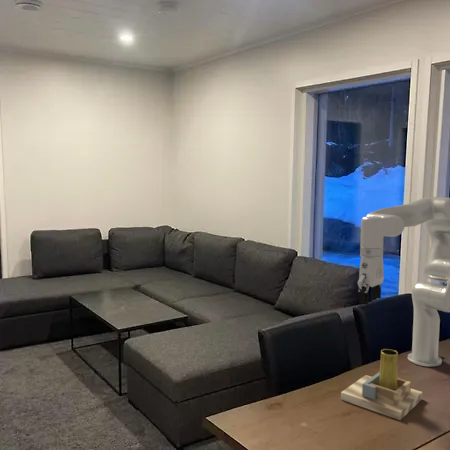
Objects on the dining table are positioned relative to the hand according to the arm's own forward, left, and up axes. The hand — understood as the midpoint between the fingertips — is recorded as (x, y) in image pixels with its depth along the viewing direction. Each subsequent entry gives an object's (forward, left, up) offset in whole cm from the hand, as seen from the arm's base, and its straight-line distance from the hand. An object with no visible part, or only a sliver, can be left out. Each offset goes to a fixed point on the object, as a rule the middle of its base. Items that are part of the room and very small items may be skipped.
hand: (369, 300), depth 168 cm
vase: (+8, +11, -28) cm, 31 cm away
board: (+8, +9, -30) cm, 32 cm away
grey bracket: (+8, +8, -27) cm, 30 cm away
